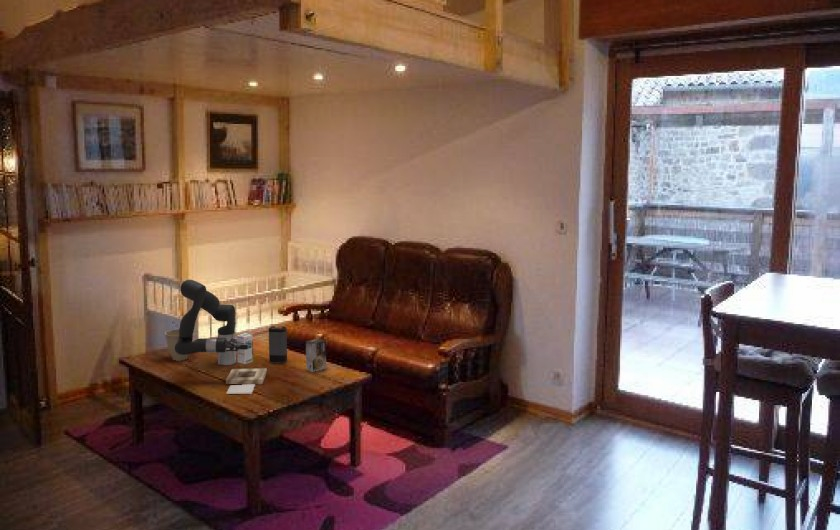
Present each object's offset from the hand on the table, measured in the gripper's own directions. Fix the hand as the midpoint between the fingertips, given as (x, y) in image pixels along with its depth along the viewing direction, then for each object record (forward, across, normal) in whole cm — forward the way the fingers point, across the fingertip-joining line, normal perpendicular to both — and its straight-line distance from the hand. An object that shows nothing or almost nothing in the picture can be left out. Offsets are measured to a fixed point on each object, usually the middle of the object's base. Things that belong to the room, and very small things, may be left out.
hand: (248, 344), depth 342 cm
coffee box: (+33, +15, +19) cm, 41 cm away
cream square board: (-2, +2, +19) cm, 19 cm away
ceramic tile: (-2, -16, +19) cm, 25 cm away
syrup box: (-2, 0, +9) cm, 9 cm away
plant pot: (-45, +38, +19) cm, 62 cm away
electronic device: (+11, +30, +19) cm, 37 cm away
